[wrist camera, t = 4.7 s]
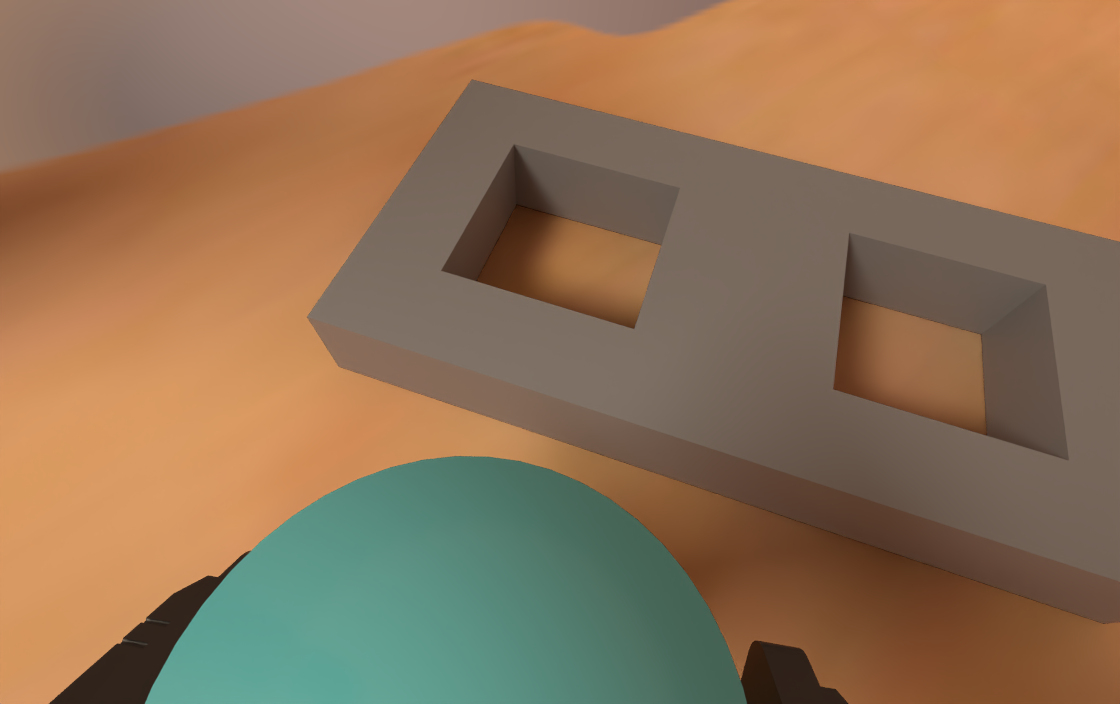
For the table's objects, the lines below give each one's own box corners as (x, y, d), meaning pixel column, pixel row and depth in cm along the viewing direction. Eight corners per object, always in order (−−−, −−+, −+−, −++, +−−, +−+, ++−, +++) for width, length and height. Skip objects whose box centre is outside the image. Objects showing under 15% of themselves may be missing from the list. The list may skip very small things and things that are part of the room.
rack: (338, 366, 19) (306, 316, 16) (478, 142, 25) (471, 79, 22) (1103, 623, 16) (1216, 613, 13) (1057, 296, 21) (1128, 244, 19)
